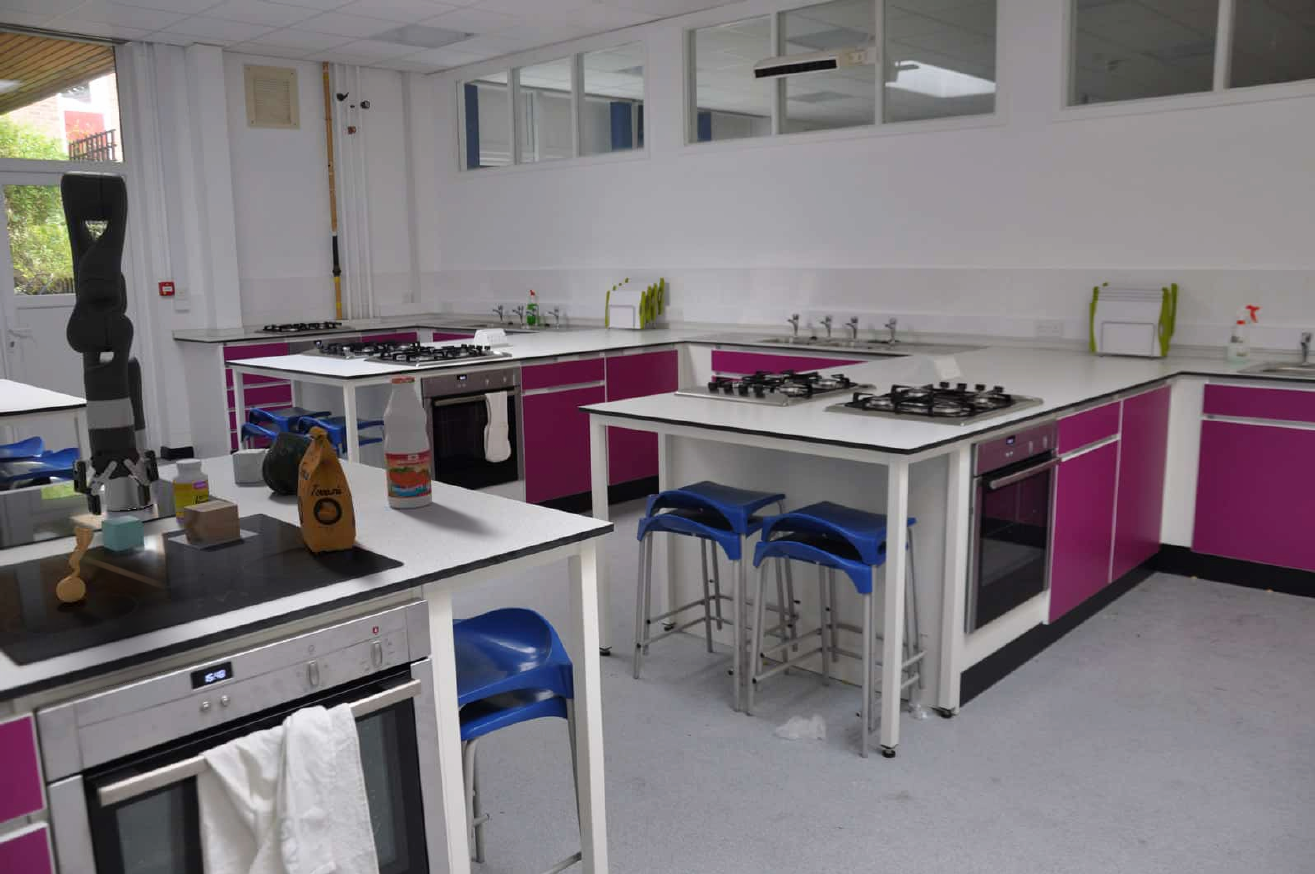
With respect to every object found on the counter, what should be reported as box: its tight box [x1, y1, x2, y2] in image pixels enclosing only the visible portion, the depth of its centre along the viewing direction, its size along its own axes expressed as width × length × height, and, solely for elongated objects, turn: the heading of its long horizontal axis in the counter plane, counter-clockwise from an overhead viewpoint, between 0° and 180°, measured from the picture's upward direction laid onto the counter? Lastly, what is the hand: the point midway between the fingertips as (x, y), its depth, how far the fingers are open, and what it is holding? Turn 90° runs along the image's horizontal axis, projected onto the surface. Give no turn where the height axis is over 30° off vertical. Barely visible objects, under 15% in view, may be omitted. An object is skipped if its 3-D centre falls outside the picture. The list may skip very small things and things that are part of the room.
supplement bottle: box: [172, 458, 211, 522], centre depth 208 cm, size 7×7×13 cm
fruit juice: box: [383, 375, 433, 509], centre depth 219 cm, size 9×9×28 cm
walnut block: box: [183, 499, 241, 543], centre depth 193 cm, size 7×7×6 cm
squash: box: [262, 431, 313, 496], centre depth 235 cm, size 14×15×15 cm
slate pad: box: [167, 528, 260, 550], centre depth 194 cm, size 12×12×1 cm
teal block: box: [100, 515, 145, 552], centre depth 188 cm, size 5×5×6 cm
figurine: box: [56, 526, 95, 603], centre depth 160 cm, size 8×6×12 cm
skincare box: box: [231, 448, 267, 484], centre depth 249 cm, size 6×6×7 cm
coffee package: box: [297, 425, 357, 553], centre depth 188 cm, size 10×12×22 cm
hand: (120, 510), depth 187 cm, fingers open, 8 cm apart
